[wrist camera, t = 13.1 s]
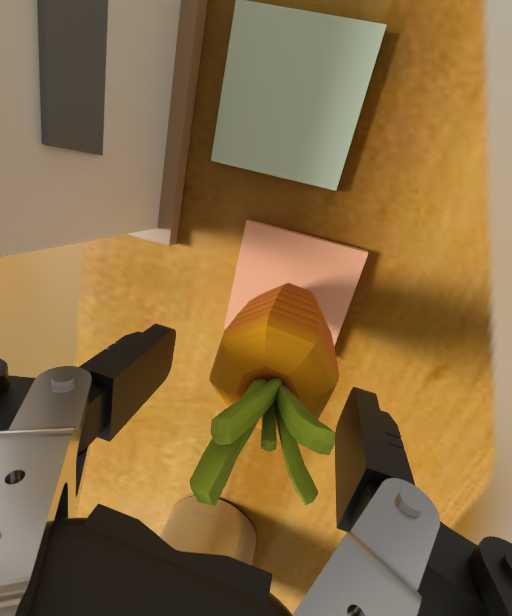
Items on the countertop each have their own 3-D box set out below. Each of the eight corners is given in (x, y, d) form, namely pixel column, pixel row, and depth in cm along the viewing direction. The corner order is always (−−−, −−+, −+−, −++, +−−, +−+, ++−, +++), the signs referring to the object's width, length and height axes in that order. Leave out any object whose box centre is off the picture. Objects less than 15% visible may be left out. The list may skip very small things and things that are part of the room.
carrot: (331, 258, 20) (356, 404, 6) (330, 329, 22) (348, 571, 8) (255, 260, 21) (129, 390, 7) (259, 328, 23) (164, 541, 9)
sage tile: (336, 191, 20) (336, 190, 19) (216, 162, 21) (210, 160, 20) (383, 33, 17) (386, 24, 16) (241, 8, 18) (236, -2, 17)
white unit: (176, 243, 23) (5, 296, 11) (80, 216, 24) (-175, 237, 12) (213, -44, 17) (-73, -637, 5) (84, -64, 18) (-421, -598, 6)
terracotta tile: (329, 354, 23) (328, 361, 22) (227, 323, 24) (223, 328, 23) (366, 250, 20) (368, 252, 19) (249, 219, 21) (246, 220, 20)
